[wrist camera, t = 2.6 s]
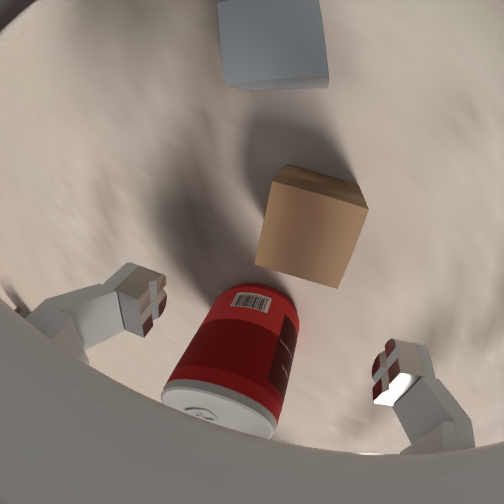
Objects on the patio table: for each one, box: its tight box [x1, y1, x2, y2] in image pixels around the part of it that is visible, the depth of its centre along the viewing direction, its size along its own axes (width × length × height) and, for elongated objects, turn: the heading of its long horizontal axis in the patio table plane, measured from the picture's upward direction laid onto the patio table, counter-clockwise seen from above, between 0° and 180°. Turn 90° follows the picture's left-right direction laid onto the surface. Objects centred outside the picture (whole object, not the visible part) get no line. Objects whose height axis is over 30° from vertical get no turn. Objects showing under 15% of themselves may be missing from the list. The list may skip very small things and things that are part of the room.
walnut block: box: [255, 165, 369, 289], centre depth 16 cm, size 5×5×5 cm
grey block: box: [217, 0, 329, 92], centre depth 12 cm, size 5×5×5 cm
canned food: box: [161, 284, 299, 439], centre depth 20 cm, size 8×8×11 cm
